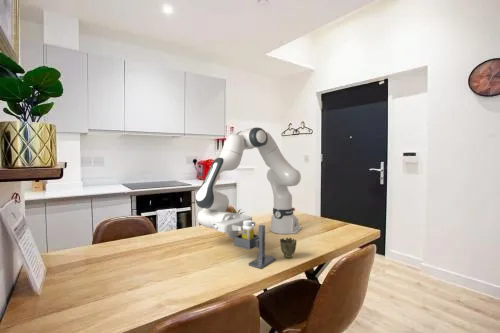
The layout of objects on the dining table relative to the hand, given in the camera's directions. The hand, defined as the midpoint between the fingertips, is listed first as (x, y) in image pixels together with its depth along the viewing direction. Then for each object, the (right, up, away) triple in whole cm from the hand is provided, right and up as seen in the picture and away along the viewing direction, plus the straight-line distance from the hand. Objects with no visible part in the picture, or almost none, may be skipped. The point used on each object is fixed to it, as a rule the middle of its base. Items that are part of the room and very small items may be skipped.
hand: (248, 226), depth 120 cm
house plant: (-8, -13, +33) cm, 37 cm away
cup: (+18, -15, +2) cm, 23 cm away
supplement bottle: (0, -8, +1) cm, 8 cm away
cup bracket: (+2, -15, -1) cm, 15 cm away
